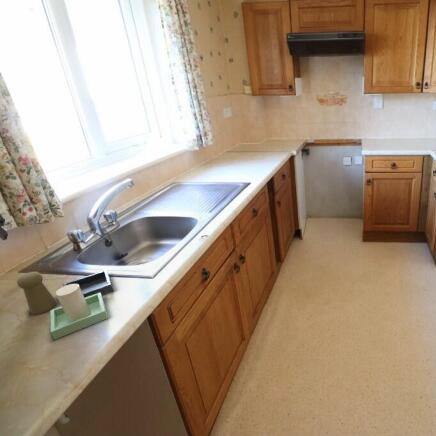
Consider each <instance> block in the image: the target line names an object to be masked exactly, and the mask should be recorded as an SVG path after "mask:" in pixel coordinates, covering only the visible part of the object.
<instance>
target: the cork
mask: <svg viewBox="0 0 436 436" xmlns="http://www.w3.org/2000/svg"><path fill="white" fill-rule="evenodd" d="M43 279H44V278H43V275H42V274H41V273H40V272H39V271H29V272H26V273H23V274H22V275H21V276H19V277H18V278H17V280H16V284H17V286H18V287H19V288H20V289H22V290H23V293H24V296H25V300H26V303H27V305H28V306H27V307H28V308H29V313H31V315H32V314H33V315H39V314H42V313H43V314H44V313H45V312H46V313H47V312H48V311H50V310H52V309H54V307H56V305H57V304H58V301H57V299H56V298H55V297H54V296H53V294H52V293H51V292H50V290H49V289H48V287H47V286H46V285H45V284H44V282H43Z"/></svg>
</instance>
